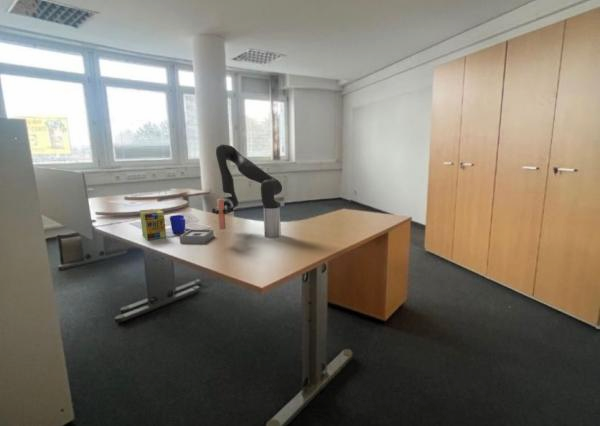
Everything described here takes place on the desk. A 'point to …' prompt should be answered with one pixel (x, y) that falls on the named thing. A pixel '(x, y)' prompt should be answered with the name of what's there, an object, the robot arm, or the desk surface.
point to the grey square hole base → (196, 236)
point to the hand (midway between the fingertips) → (220, 212)
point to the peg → (221, 214)
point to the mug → (177, 223)
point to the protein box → (153, 224)
